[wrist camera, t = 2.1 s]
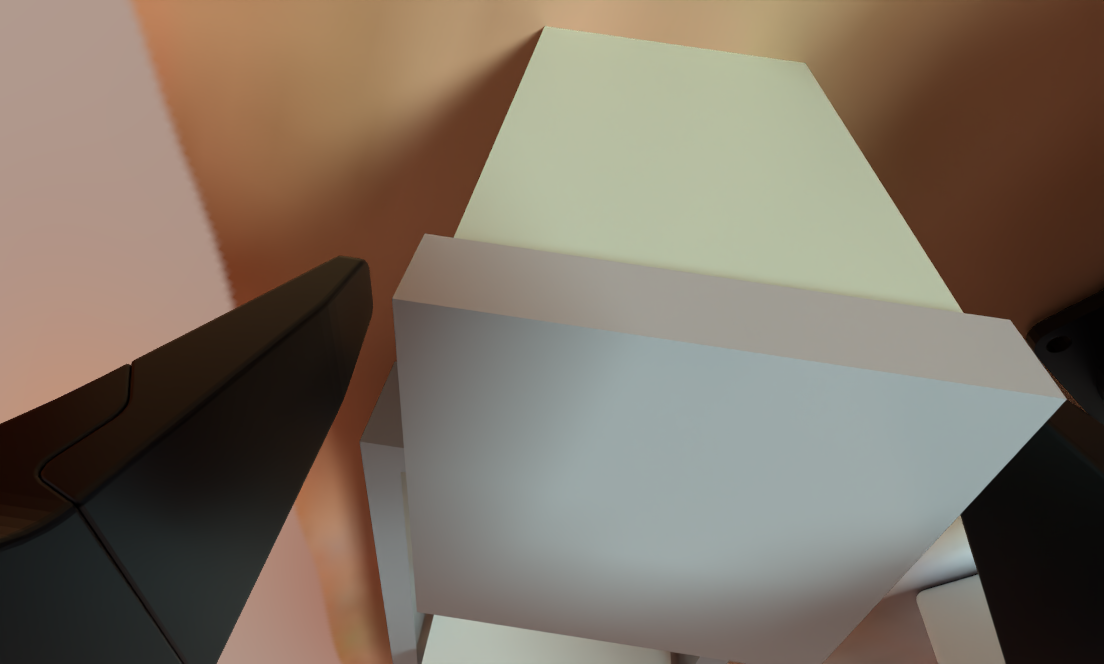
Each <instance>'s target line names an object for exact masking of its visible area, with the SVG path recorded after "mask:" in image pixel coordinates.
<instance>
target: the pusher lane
mask: <svg viewBox="0 0 1104 664" xmlns="http://www.w3.org/2000/svg"><path fill="white" fill-rule="evenodd" d="M359 442H360V448H361V455H362V462H363V468H364V475H365V482H366V488H367V495H368V501H369V508H370V515H371V521H372V528H373V535H374V541H375V548H376V555H377V561H378V568H379V575H380V581H381V588H382V594H383V601H384V608H385V614H386V621H387V628H388V634H389V641H390V648H391V654H392V661H393V664H422V660H423V656H424V652H425V648H426V644H427V640H428V637H429V633H430V629H431V625H432V621H433V617H434V615H433V614H427V613H420V612H417V607H416V595H415V582H414V569H413V557H412V544H411V531H410V519H409V506H408V493H407V481H406V468H405V455H404V443H403V430H402V417H401V405H400V392H399V380H398V367H397V362H394V364H393V367H392V369H391V371H390V373H389V376H388V378H387V380H386V382H385V385H384V387H383V389H382V392H381V394H380V396H379V398H378V401H377V403H376V405H375V407H374V410H373V412H372V414H371V417H370V419H369V421H368V423H367V426H366V428H365V430H364V432H363V435H362V437H361V439H360V441H359ZM728 662H729V661H726V660H720V659H713V658H707V657H701V656H694V655H688V654H682V653H675V652H671V664H727V663H728Z"/></svg>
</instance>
